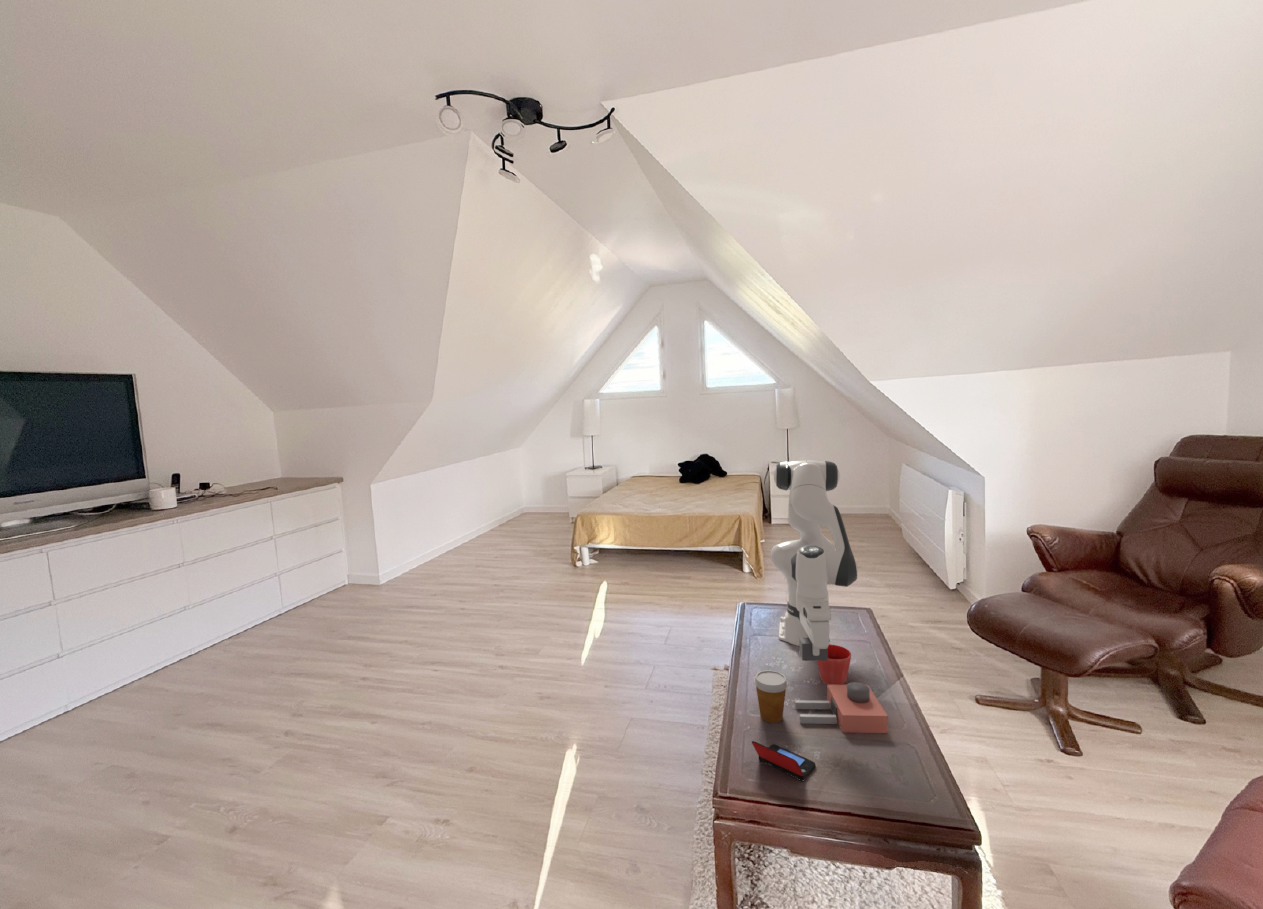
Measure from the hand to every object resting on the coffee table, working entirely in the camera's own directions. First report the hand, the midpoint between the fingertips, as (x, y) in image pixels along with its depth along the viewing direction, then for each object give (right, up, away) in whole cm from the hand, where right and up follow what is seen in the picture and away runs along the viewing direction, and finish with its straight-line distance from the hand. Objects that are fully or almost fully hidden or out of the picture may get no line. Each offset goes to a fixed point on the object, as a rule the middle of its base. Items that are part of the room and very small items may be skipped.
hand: (813, 650), depth 154 cm
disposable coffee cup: (-12, -21, +2) cm, 24 cm away
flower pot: (+14, -18, +21) cm, 30 cm away
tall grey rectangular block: (0, -2, 0) cm, 2 cm away
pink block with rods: (+7, -19, +1) cm, 21 cm away
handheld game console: (-14, -23, -19) cm, 33 cm away
